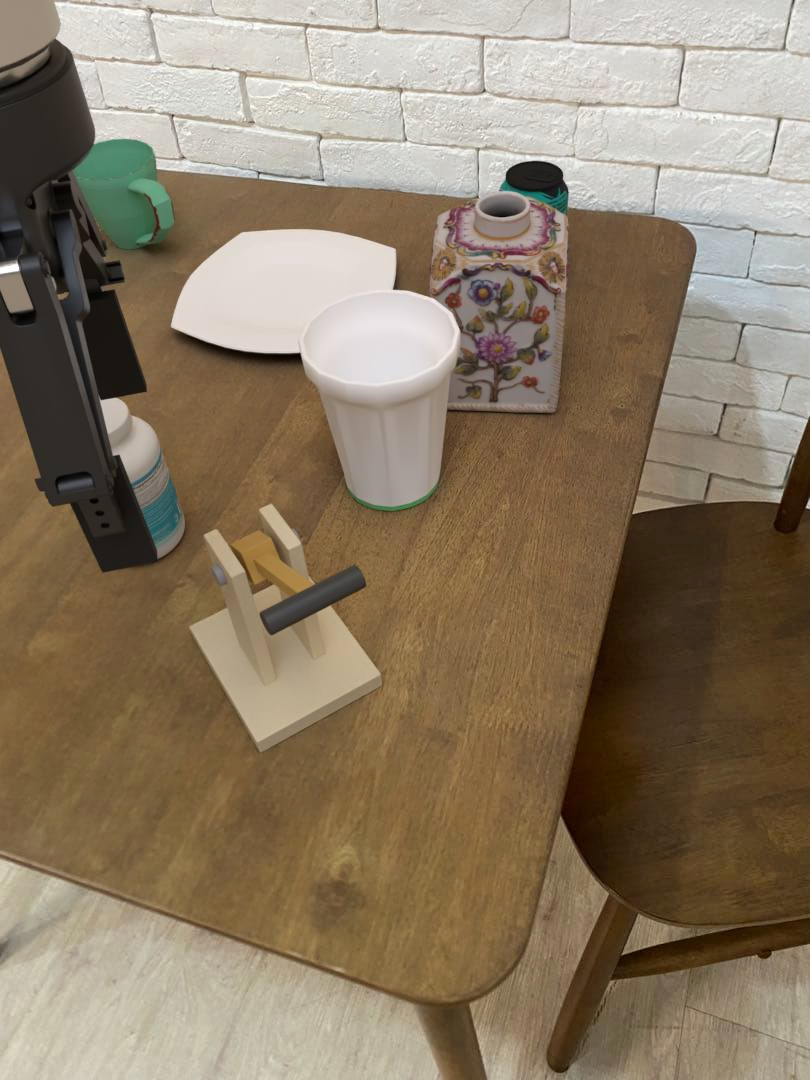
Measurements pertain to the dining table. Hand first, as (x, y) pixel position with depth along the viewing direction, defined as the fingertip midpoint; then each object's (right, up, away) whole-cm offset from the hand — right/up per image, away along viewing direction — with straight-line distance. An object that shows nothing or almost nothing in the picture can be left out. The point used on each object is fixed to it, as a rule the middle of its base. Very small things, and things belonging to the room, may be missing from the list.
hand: (126, 470), depth 51 cm
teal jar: (+29, +25, +52) cm, 64 cm away
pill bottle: (-7, -4, +30) cm, 31 cm away
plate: (+3, +22, +52) cm, 56 cm away
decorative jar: (+24, +12, +41) cm, 49 cm away
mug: (-16, +31, +61) cm, 71 cm away
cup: (+14, +2, +32) cm, 35 cm away
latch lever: (+8, -7, +7) cm, 13 cm away
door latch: (+6, -13, +20) cm, 24 cm away
